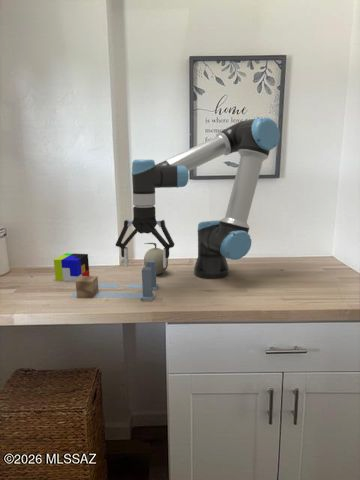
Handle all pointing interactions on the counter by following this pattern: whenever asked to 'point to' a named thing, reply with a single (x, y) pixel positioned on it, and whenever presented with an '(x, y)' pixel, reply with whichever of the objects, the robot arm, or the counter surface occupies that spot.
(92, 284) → the cube
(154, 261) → the lane
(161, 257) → the fruit
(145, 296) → the strip
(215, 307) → the counter surface
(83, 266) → the puzzle toy
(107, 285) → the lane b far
